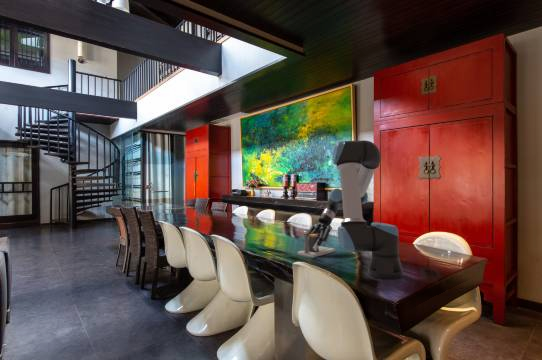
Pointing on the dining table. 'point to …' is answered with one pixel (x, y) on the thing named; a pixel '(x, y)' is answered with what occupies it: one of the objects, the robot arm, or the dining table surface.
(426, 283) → the dining table surface
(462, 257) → the dining table surface
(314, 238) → the orange and black block
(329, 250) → the base plate with post
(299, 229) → the bar
